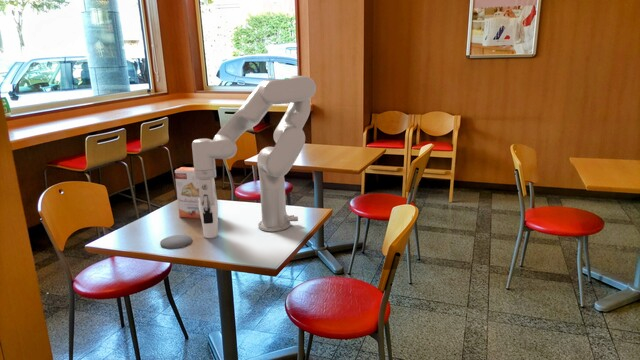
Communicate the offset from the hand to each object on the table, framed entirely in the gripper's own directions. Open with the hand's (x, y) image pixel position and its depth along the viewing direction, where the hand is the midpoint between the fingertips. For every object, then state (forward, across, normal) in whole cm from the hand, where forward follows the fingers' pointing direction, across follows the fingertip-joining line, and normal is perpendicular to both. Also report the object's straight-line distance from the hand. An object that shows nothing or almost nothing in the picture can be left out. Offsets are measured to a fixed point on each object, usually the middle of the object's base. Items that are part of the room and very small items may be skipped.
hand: (209, 219), depth 165 cm
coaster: (+7, -4, +12) cm, 14 cm away
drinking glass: (+7, 0, 0) cm, 7 cm away
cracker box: (+7, +24, +8) cm, 26 cm away
